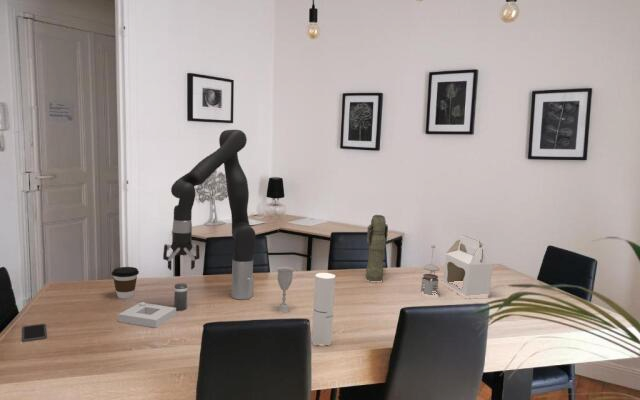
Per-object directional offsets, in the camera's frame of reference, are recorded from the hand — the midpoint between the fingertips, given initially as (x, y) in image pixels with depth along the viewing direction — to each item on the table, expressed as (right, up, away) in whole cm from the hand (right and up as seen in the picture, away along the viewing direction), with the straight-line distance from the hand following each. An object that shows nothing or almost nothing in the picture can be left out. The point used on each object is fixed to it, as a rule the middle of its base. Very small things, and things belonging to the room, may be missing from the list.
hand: (181, 269), depth 198 cm
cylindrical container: (+58, -23, -23) cm, 66 cm away
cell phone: (-43, -19, -29) cm, 55 cm away
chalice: (+41, -19, +7) cm, 46 cm away
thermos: (+86, -15, +58) cm, 105 cm away
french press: (+111, -18, +40) cm, 119 cm away
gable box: (+131, -19, +48) cm, 141 cm away
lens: (-1, -17, +2) cm, 17 cm away
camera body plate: (-10, -18, -10) cm, 23 cm away
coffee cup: (-28, -14, +13) cm, 34 cm away
